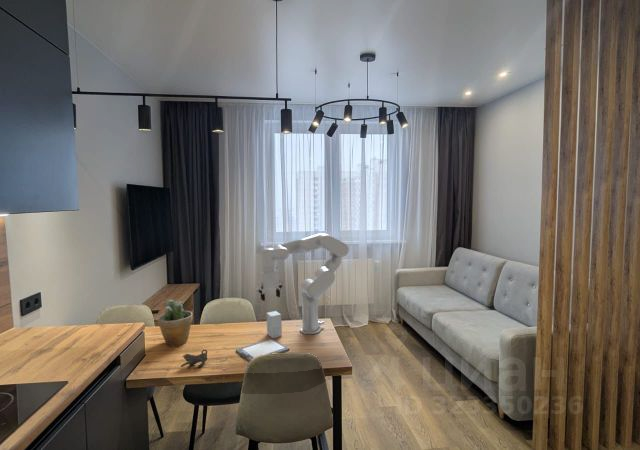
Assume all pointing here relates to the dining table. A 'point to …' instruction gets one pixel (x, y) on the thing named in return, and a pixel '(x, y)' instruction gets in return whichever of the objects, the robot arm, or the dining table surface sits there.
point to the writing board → (261, 349)
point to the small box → (274, 324)
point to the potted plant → (175, 323)
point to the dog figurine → (195, 359)
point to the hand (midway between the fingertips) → (270, 298)
